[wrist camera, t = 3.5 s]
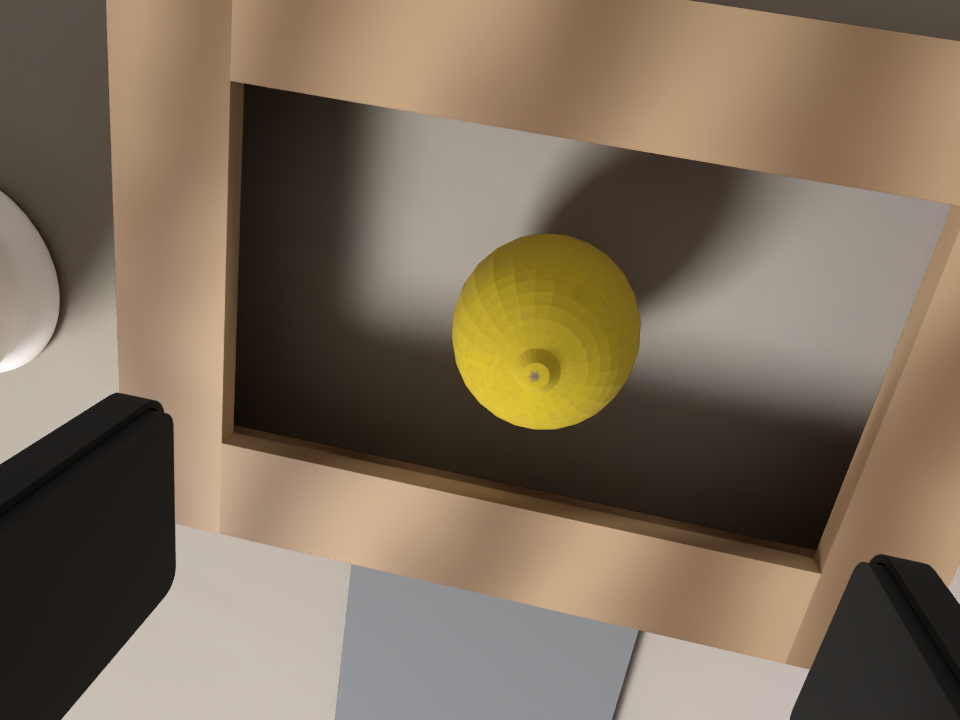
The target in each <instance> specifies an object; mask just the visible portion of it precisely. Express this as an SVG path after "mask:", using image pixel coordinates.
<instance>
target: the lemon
mask: <svg viewBox="0 0 960 720" xmlns="http://www.w3.org/2000/svg"><path fill="white" fill-rule="evenodd" d="M640 325H641V321H640V315H639V310H638V306H637V301H636V297H635V294H634V292H633V290H632V288H631V286H630V284H629V282H628V280H627V278H626V276H625V274H624V273H623V272H622V270H621V269H620V268H619V267H618V266H617V265H616V264H615V263H614V262H613V261H612V260H611V259H610V257H609V256H608V255H607V254H605V253H604V252H602V251H600V250H599V249H597V248H596V247H594V246H593V245H591V244H590V243H588V242H586V241H583V240H580V239H576V238H573V237H570V236H567V235H559V234H543V233H542V234H537V235H531V236H526V237H520V238H518V239H516V240H514V241H512V242H509V243H507V244H505V245H503V246H501V247H499V248H497V249H496V250H495V251H493V252H492V253H491V254H490V255H489V256H487V257H486V258H485V259H484V260H483V261H482V262H480V263H479V264H478V266H477V267H476V268H475V270H474V271H473V273H472V274H471V275H470V277H469V278H468V280H467V281H466V282H465V284H464V286H463V288H462V291H461V293H460V296H459V299H458V301H457V304H456V307H455V310H454V318H453V329H452V341H453V347H454V353H455V359H456V364H457V366H458V369H459V371H460V373H461V376H462V378H463V380H464V382H465V385H466V386H467V388H468V389H469V390H470V391H471V393H472V394H473V395H474V397H475V398H476V399H477V400H478V402H479V403H480V404H482V405H483V406H484V407H485V408H487V409H488V410H489V411H490V412H492V413H493V414H494V415H495V416H497V417H499V418H501V419H503V420H505V421H507V422H509V423H511V424H513V425H516V426H521V427H526V428H530V429H535V430H537V429H559V428H563V427H567V426H571V425H575V424H578V423H580V422H582V421H584V420H586V419H588V418H589V417H591V416H593V415H595V414H597V413H598V412H599V411H600V410H601V409H602V408H604V407H605V406H606V405H607V404H608V403H609V402H610V401H611V400H613V399H614V398H615V397H616V395H617V394H618V392H619V391H620V389H621V388H622V386H623V385H624V383H625V382H626V380H627V379H628V377H629V376H630V374H631V371H632V368H633V365H634V362H635V359H636V356H637V353H638V350H639V343H640Z"/></svg>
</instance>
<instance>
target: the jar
mask: <svg viewBox="0 0 960 720" xmlns="http://www.w3.org/2000/svg"><path fill="white" fill-rule="evenodd" d="M59 304H60V293H59V285H58V279H57V274H56V270H55V267H54V264H53V261H52V258H51V256H50V253H49V251H48V249H47V247H46V245H45V243H44V241H43V239H42V237H41V236H40V234H39V232H38V231H37V229H36V228H35V226H34V225H33V224H32V222H31V221H30V220H29V218H28V217H27V216H26V214H25V213H24V212H23V211H22V210H21V209H20V208H19V207H18V206H17V205H16V204H15V203H14V202H13V201H12V200H11V199H10V198H9V197H8V196H7V195H5V194H4V193H3V192H2V191H0V372H5V371H9V370H12V369H15V368H18V367H20V366H22V365H24V364H26V363H28V362H29V361H31V360H32V359H34V358H35V357H36V356H37V355H38V354H39V353H40V352H41V351H42V350H43V349H44V348H45V346H46V345H47V343H48V342H49V340H50V338H51V337H52V335H53V332H54V330H55V327H56V323H57V320H58V315H59Z"/></svg>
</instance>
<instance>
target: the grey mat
mask: <svg viewBox="0 0 960 720" xmlns="http://www.w3.org/2000/svg"><path fill="white" fill-rule="evenodd" d="M638 631H639V630H637V629H632V628H628V627H624V626H619V625H615V624H611V623H606V622H602V621H598V620H593V619H589V618H584V617H580V616H576V615H571V614H567V613H563V612H558V611H554V610H550V609H545V608H541V607H537V606H532V605H528V604H524V603H519V602H515V601H511V600H506V599H502V598H497V597H493V596H489V595H484V594H480V593H476V592H471V591H467V590H463V589H458V588H454V587H450V586H445V585H441V584H437V583H432V582H428V581H424V580H419V579H415V578H410V577H406V576H402V575H397V574H393V573H389V572H384V571H380V570H376V569H371V568H367V567H363V566H358V565H354V564H352V565H351V574H350V583H349V593H348V602H347V611H346V621H345V630H344V639H343V649H342V658H341V667H340V676H339V686H338V695H337V704H336V714H335V720H612V718H613V715H614V711H615V708H616V704H617V701H618V698H619V694H620V691H621V688H622V684H623V681H624V678H625V674H626V671H627V668H628V664H629V661H630V658H631V654H632V651H633V648H634V644H635V641H636V638H637V634H638Z"/></svg>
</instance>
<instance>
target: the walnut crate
mask: <svg viewBox="0 0 960 720" xmlns="http://www.w3.org/2000/svg"><path fill="white" fill-rule="evenodd" d="M106 15H107V44H108V74H109V103H110V132H111V162H112V191H113V220H114V250H115V279H116V308H117V338H118V367H119V393H123V394H128V395H133V396H138V397H142V398H147V399H152V400H156V401H158V402H160V403H161V404H162V407H163V409H164V413H168V414H169V415H171V417H172V419H173V424H174V483H175V523H176V524H180V525H184V526H189V527H193V528H197V529H202V530H206V531H210V532H215V533H219V534H223V535H228V536H232V537H236V538H241V539H245V540H250V541H254V542H258V543H263V544H267V545H271V546H276V547H280V548H284V549H289V550H293V551H297V552H302V553H306V554H310V555H315V556H319V557H323V558H328V559H332V560H337V561H341V562H345V563H350V564H354V565H358V566H363V567H367V568H371V569H376V570H380V571H384V572H389V573H393V574H397V575H402V576H406V577H410V578H415V579H419V580H424V581H428V582H432V583H437V584H441V585H445V586H450V587H454V588H458V589H463V590H467V591H471V592H476V593H480V594H484V595H489V596H493V597H497V598H502V599H506V600H511V601H515V602H519V603H524V604H528V605H532V606H537V607H541V608H545V609H550V610H554V611H558V612H563V613H567V614H571V615H576V616H580V617H584V618H589V619H593V620H598V621H602V622H606V623H611V624H615V625H619V626H624V627H628V628H632V629H637V630H641V631H645V632H650V633H654V634H658V635H663V636H667V637H671V638H676V639H680V640H685V641H689V642H693V643H698V644H702V645H706V646H711V647H715V648H719V649H724V650H728V651H732V652H737V653H741V654H745V655H750V656H754V657H758V658H763V659H767V660H772V661H776V662H780V663H785V664H789V665H793V666H798V667H802V668H806V669H811V666H812V664H813V662H814V659H815V657H816V655H817V653H818V650H819V648H820V646H821V643H822V641H823V639H824V636H825V634H826V632H827V630H828V627H829V625H830V623H831V620H832V618H833V616H834V614H835V611H836V609H837V607H838V604H839V602H840V600H841V597H842V595H843V593H844V591H845V588H846V586H847V584H848V581H849V579H850V577H851V574H852V572H853V570H854V568H855V567H856V565H858V564H859V563H860V562H867V563H869V562H870V560H871V559H872V558H873V557H874V556H875V555H879V554H884V555H889V556H893V557H898V558H903V559H908V560H912V561H917V562H922V563H925V564H928V565H930V566H931V567H932V568H933V569H934V570H935V571H936V572H937V574H938V575H939V577H940V578H941V579H942V581H943V582H944V583H945V585H946V586H947V588H948V587H949V585H950V583H951V581H952V579H953V577H954V575H955V573H956V570H957V568H958V566H959V564H960V41H955V40H948V39H941V38H935V37H928V36H922V35H915V34H908V33H902V32H895V31H889V30H882V29H875V28H869V27H862V26H856V25H849V24H842V23H836V22H829V21H823V20H816V19H809V18H803V17H796V16H790V15H783V14H776V13H770V12H763V11H757V10H750V9H743V8H737V7H730V6H724V5H717V4H710V3H704V2H697V1H691V0H106ZM244 83H246V84H251V85H257V86H263V87H269V88H275V89H281V90H287V91H292V92H298V93H304V94H310V95H316V96H322V97H327V98H333V99H339V100H345V101H351V102H357V103H363V104H368V105H374V106H380V107H386V108H392V109H398V110H403V111H409V112H415V113H421V114H427V115H433V116H439V117H444V118H450V119H456V120H462V121H468V122H474V123H480V124H485V125H491V126H497V127H503V128H509V129H515V130H520V131H526V132H532V133H538V134H544V135H550V136H556V137H561V138H567V139H573V140H579V141H585V142H591V143H596V144H602V145H608V146H614V147H620V148H626V149H632V150H637V151H643V152H649V153H655V154H661V155H667V156H673V157H678V158H684V159H690V160H696V161H702V162H708V163H713V164H719V165H725V166H731V167H737V168H743V169H749V170H754V171H760V172H766V173H772V174H778V175H784V176H789V177H795V178H801V179H807V180H813V181H819V182H825V183H830V184H836V185H842V186H848V187H854V188H860V189H865V190H871V191H877V192H883V193H889V194H895V195H901V196H906V197H912V198H918V199H924V200H930V201H936V202H942V203H947V204H953V205H952V208H951V210H950V213H949V215H948V218H947V220H946V223H945V226H944V228H943V231H942V233H941V236H940V238H939V241H938V243H937V246H936V248H935V251H934V253H933V256H932V258H931V261H930V264H929V266H928V269H927V271H926V274H925V276H924V279H923V281H922V284H921V286H920V289H919V291H918V294H917V297H916V299H915V302H914V304H913V307H912V309H911V312H910V314H909V317H908V319H907V322H906V324H905V327H904V329H903V332H902V335H901V337H900V340H899V342H898V345H897V347H896V350H895V352H894V355H893V357H892V360H891V362H890V365H889V368H888V370H887V373H886V375H885V378H884V380H883V383H882V385H881V388H880V390H879V393H878V395H877V398H876V400H875V403H874V406H873V408H872V411H871V413H870V416H869V418H868V421H867V423H866V426H865V428H864V431H863V433H862V436H861V439H860V441H859V444H858V446H857V449H856V451H855V454H854V456H853V459H852V461H851V464H850V466H849V469H848V471H847V474H846V477H845V479H844V482H843V484H842V487H841V489H840V492H839V494H838V497H837V499H836V502H835V504H834V507H833V510H832V512H831V515H830V517H829V520H828V522H827V525H826V527H825V530H824V532H823V535H822V537H821V540H820V542H819V545H818V548H817V550H812V549H807V548H803V547H798V546H793V545H789V544H784V543H779V542H775V541H770V540H765V539H761V538H756V537H751V536H747V535H742V534H738V533H733V532H728V531H724V530H719V529H714V528H710V527H705V526H700V525H696V524H691V523H686V522H682V521H677V520H673V519H668V518H663V517H659V516H654V515H649V514H645V513H640V512H635V511H631V510H626V509H621V508H617V507H612V506H608V505H603V504H598V503H594V502H589V501H584V500H580V499H575V498H570V497H566V496H561V495H556V494H552V493H547V492H543V491H538V490H533V489H529V488H524V487H519V486H515V485H510V484H505V483H501V482H496V481H491V480H487V479H482V478H478V477H473V476H468V475H464V474H459V473H454V472H450V471H445V470H440V469H436V468H431V467H426V466H422V465H417V464H413V463H408V462H403V461H399V460H394V459H389V458H385V457H380V456H375V455H371V454H366V453H362V452H357V451H352V450H348V449H343V448H338V447H334V446H329V445H324V444H320V443H315V442H310V441H306V440H301V439H297V438H292V437H287V436H283V435H278V434H273V433H269V432H264V431H259V430H255V429H250V428H245V427H241V426H236V425H234V394H235V361H236V329H237V297H238V264H239V232H240V200H241V167H242V135H243V103H244Z"/></svg>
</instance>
